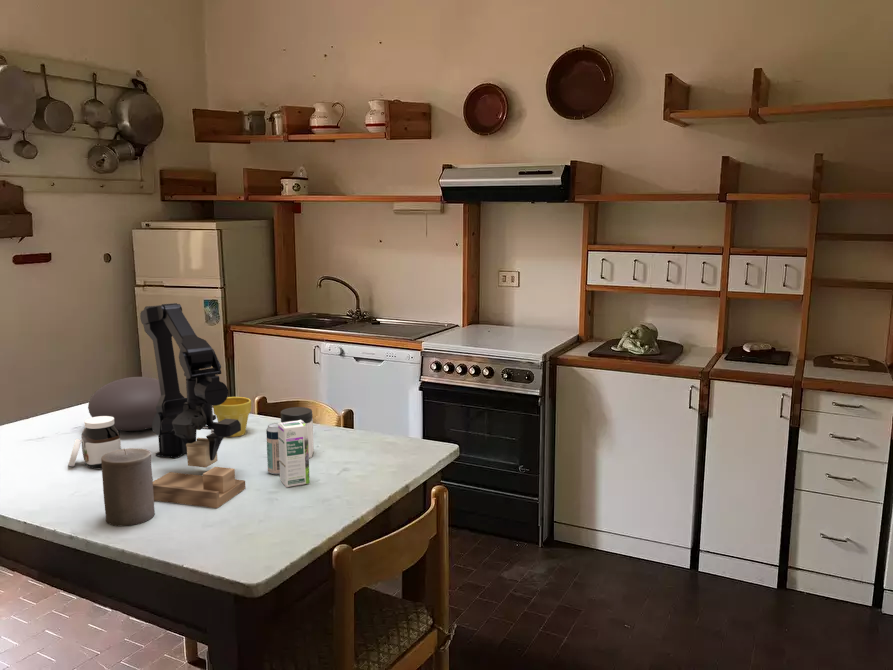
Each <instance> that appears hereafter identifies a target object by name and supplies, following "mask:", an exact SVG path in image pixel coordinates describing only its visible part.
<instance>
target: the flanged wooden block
mask: <svg viewBox="0 0 893 670" xmlns="http://www.w3.org/2000/svg"><path fill="white" fill-rule="evenodd" d="M186 446H187V453H186V456H187V460H186V461H187V466H188V467H196V468H208V467H210V466H212V465H213V464H214V463H217V462H218V452H217V453H216V456H215V458H214V460H212V461H211V460H210V451H209V440H208V439H207V437H206V438H205V437H196V441H195V442H193V443H187V444H186Z"/></svg>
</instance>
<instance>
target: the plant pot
mask: <svg viewBox="0 0 893 670" xmlns="http://www.w3.org/2000/svg"><path fill="white" fill-rule="evenodd" d="M212 410H213V415H216V420H217V422H220V421H222V420H224V419H236V420H238V421H239V422H240V423H241V431H239V432H237V433H235V434H233V435H232V436H230V437H229V438H236V437H241V436H243V435H245V434H246V430H247V425H248V420H249V414H250V413H251V411H252V400H251V399H250V398H249V397H243V396H228V397H227V399H226V400H225V401H224V403H222V404H220V405H217V406H213V405H212Z"/></svg>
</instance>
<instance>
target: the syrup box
mask: <svg viewBox="0 0 893 670" xmlns="http://www.w3.org/2000/svg"><path fill="white" fill-rule="evenodd" d="M277 423H278V441H279V464H280V474H279V479H280V481H281V483H282V484H283V485H284V486H285V487H286V488H290V487H295V486H302V485H309V484H311V483H310V480H311V478H310V458H309V448H308V426H307V424H306V423H305V422H304V421H302V420H298V421H290V422H283V423H281V422H277Z"/></svg>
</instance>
